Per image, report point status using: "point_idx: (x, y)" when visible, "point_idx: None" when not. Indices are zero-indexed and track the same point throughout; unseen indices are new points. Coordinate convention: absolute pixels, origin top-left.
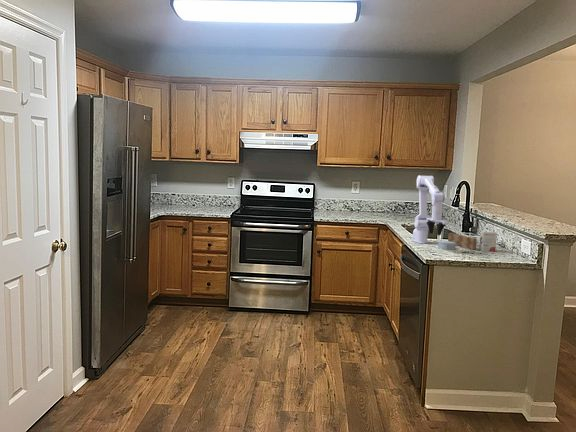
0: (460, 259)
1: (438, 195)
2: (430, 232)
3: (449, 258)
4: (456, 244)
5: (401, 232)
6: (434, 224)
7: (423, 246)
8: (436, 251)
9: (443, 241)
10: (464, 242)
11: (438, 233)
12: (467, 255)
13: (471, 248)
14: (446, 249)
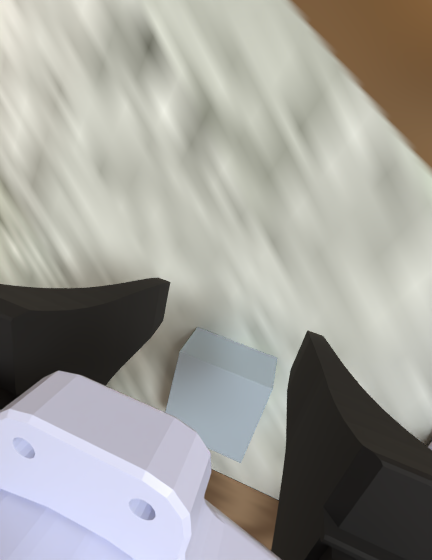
0: None
1: None
2: (306, 340)
3: (6, 37)
4: (219, 483)
5: None
6: (274, 533)
7: (387, 306)
8: (201, 199)
9: (247, 422)
10: None
11: (139, 282)
12: (34, 261)
13: None
14: (196, 329)
